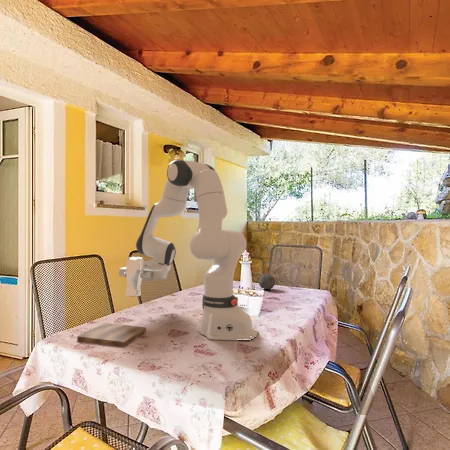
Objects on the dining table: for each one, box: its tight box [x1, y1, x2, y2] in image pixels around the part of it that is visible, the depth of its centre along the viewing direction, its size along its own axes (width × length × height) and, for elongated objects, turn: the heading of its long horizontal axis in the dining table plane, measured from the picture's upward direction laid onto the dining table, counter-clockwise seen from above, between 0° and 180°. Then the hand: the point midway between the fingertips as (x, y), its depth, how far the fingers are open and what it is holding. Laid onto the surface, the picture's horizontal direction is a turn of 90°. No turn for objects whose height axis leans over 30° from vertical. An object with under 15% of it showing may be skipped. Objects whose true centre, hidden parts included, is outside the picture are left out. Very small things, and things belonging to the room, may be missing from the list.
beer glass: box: [124, 256, 145, 298], centre depth 136 cm, size 7×7×15 cm
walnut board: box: [76, 322, 147, 347], centre depth 122 cm, size 18×16×2 cm
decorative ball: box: [258, 273, 276, 290], centre depth 209 cm, size 10×10×10 cm
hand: (133, 275), depth 135 cm, fingers closed on beer glass, 6 cm apart
